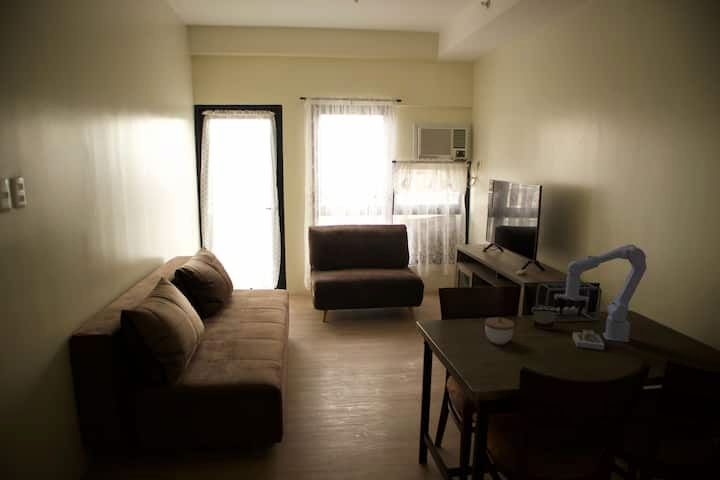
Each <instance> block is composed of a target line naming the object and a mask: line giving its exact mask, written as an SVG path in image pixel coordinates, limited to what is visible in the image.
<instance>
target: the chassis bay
mask: <svg viewBox="0 0 720 480" xmlns="http://www.w3.org/2000/svg"><path fill="white" fill-rule="evenodd" d="M582 334H583V332H576V331H575V332H573V331H572V337H571V338H572V339H573V340H572V341H573V342H574V344H575V347H576V348H581V349H589V350H597V351H598V350H599V351H604V350H605V343H604V342H603V340H602V338H601V336H600V334H595V336H594V342H585V341H582Z"/></svg>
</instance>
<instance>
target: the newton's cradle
mask: <svg viewBox="0 0 720 480" xmlns="http://www.w3.org/2000/svg"><path fill="white" fill-rule="evenodd" d="M566 283H567V282H547V283H546V282H543V283H539V284H538V285H537V288H536V298H535V305H539V298H540V297H539V295H540V288H541V287H542V286H543V287H545V288H547V289H548V290H547V291H546V298H545V305H547V306H549V299H550V293H551V292H555V291H556V294H559V292H561V291H563V292H564V293H563V294H565V292H566V287H560V286H566ZM586 285H587V286H586ZM551 286H552V287H551ZM557 286H559V287H557ZM582 286H583V287H582ZM595 290H597V291H599V292H598V300H597V309H596V316H595V317H594V318H593V317H591V316H589V315H588V314H587V312H588V310H589V302H586V305H585V307H584V308H583V310H582V311H581V314H582V315H583V316H584V315H585V316H586V317H588V318H574V319H555V323H567V322H568V323H569V322H571V323H572V322H594V321H597V320H598V319H599V318H600V317H599V316H600V312H601V301H602V294H603V291H602V290H603V289H602V288H601V287H600V286H599V287H596V286H594V285H592V284H590V283H589V282H587V281H583V282H581V281H580V287H579V296H582V295H581V294H582V293H581V291H585V292H587V293H584V295H583V296H584V297H588V298H589V299H590V292H591V291H595ZM585 295H586V296H585ZM570 301H571V300H568V302H567V306H565V307H564V308H563V309H562V315H561V314H560V308H559V306H558V307H555V306H556V304H553V307H554V308H556V309H557V310H558V313H557V314H556V316H574V315H573V314H577V313H578V307H576V304H577V303H576V302H577V301H574V305H573V306H571V307H569V306H570ZM556 302H557V300H555V301H554V303H556Z"/></svg>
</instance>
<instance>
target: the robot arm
mask: <svg viewBox="0 0 720 480" xmlns="http://www.w3.org/2000/svg"><path fill="white" fill-rule="evenodd" d="M646 258H647V256H646V254H645V252H644V251H643V249H641V248H639V247H637V246H636V245H634V244H627V245H621V246H620V247H618V248H615V249H613V250H610V251H607V252H605V253H603V254H600V255H597V256H596V255H593V254H592V255H591V254H588V255H586V257H583V258H581V259H579V258H578V259H576V260H572V261H569V263H568V264H567V265H566V270H567V276H566V282H565V283H566V285H565V288H566V290H565V293H554V299H555V300H556V302H557V303H558V307H559V308H560V314H561V315H560V316H563V315H562V309H564V308H563V307H564V303H565V302H564V300H566V301H569V300H570V301H574V302H577V301H578V307H577V309H578V312H577V315H576V316H577V317H580V316H581V315H580V314H581V311H582V310H583V308H586V302H588V303H589V302H590V301H589V300H590V297H589V298H588V297H587V296H584V295H583V296H582V295H580V290H579V287H580V282H581V275H582V274H583V273H584V272H586V271H587V272H588V271H590V270H593V269H596V268H599V266H600V264H602V263H607V262H609V261H613V260H615V259H620V260H621V259H622V260H628V262H629V264H630V266H631V270H629V273H628V275H627V277H626V279H625V281H624V282H623V285H622V287H621V289H620V290H619V291H618V292H619V293H618V294H617V297H616V298H613V300H612V302H610V303H609V304H608V305H607V306H606V312H607V314H608V316H607V318H606V325H605V332H602V335H603V337H604V339H605V340H606V341H615V342H623V343H629V337H630V331H631V324H630V321H629V320H626V319H627V318H628V311H629V308H630V307H629V303H630V301H631V300H632V297H633V295H634V294H635V291H636V290H637V288H638V286H639V284H640V282H641V280H642V278H643V276H644V274H645V273H646V271H647V262H646V261H647V260H646Z"/></svg>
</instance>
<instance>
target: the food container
mask: <svg viewBox="0 0 720 480" xmlns="http://www.w3.org/2000/svg"><path fill="white" fill-rule="evenodd" d="M531 312H532V322H533V323H532V324H533V325H532V326H533V328H535V329H554V327H555V323H556V322H555V320H557V319H556V317H557V315H556V314H557V313H558V310H557V307H554V306H551V305H548V306H547V305H546V304H538V305H536V304H535V305H534V306H533V307H532V308H531Z"/></svg>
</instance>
